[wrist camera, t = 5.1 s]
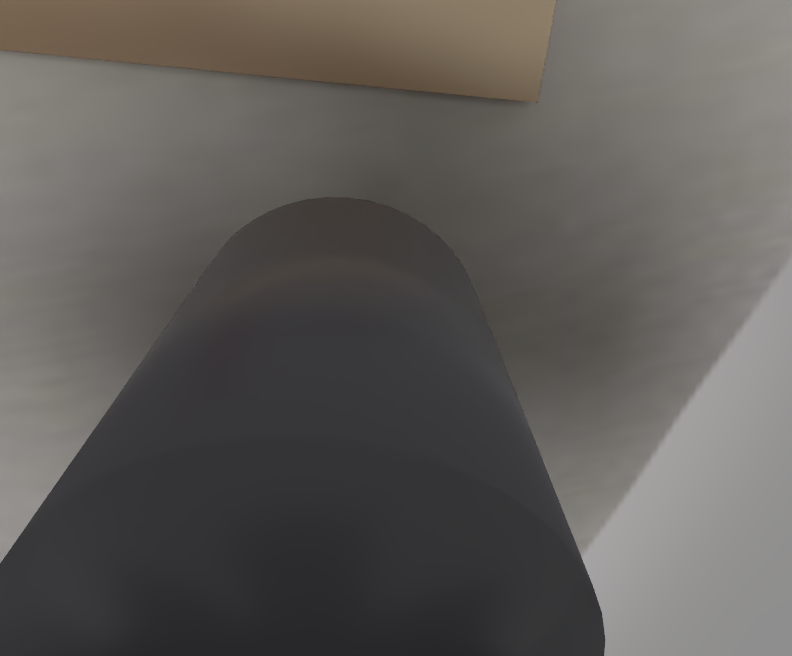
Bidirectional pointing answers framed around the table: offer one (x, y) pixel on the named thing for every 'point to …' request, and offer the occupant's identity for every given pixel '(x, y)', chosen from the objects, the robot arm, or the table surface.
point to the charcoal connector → (309, 472)
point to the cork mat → (305, 39)
